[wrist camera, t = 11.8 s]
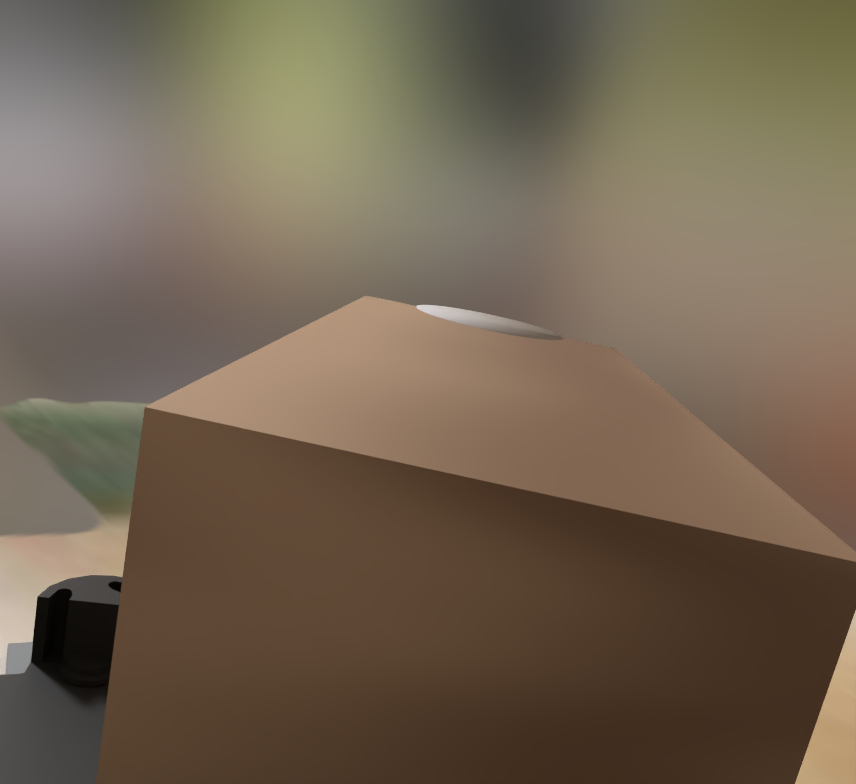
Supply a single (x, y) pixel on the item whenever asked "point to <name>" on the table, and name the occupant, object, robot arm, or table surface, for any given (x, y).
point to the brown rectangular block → (460, 572)
